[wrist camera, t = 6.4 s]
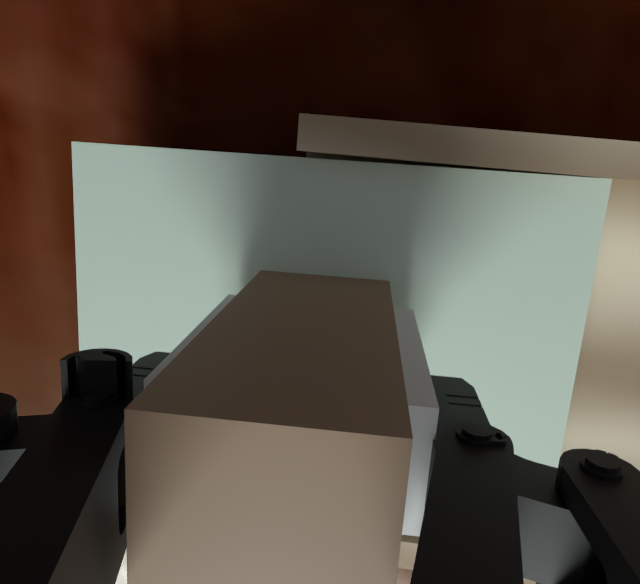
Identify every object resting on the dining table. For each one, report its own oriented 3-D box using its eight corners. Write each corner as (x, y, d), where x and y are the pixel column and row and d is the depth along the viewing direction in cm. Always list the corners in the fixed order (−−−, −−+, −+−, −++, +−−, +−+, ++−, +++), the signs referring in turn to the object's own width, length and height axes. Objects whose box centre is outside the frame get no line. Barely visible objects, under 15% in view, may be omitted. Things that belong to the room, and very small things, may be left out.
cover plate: (94, 142, 19) (-321, 120, 7) (592, 177, 17) (985, 211, 6) (103, 443, 21) (-195, 761, 10) (536, 490, 20) (743, 907, 9)
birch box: (317, 124, 21) (299, 113, 15) (889, 173, 19) (1085, 179, 14) (289, 463, 24) (266, 550, 19) (776, 524, 23) (899, 635, 17)
